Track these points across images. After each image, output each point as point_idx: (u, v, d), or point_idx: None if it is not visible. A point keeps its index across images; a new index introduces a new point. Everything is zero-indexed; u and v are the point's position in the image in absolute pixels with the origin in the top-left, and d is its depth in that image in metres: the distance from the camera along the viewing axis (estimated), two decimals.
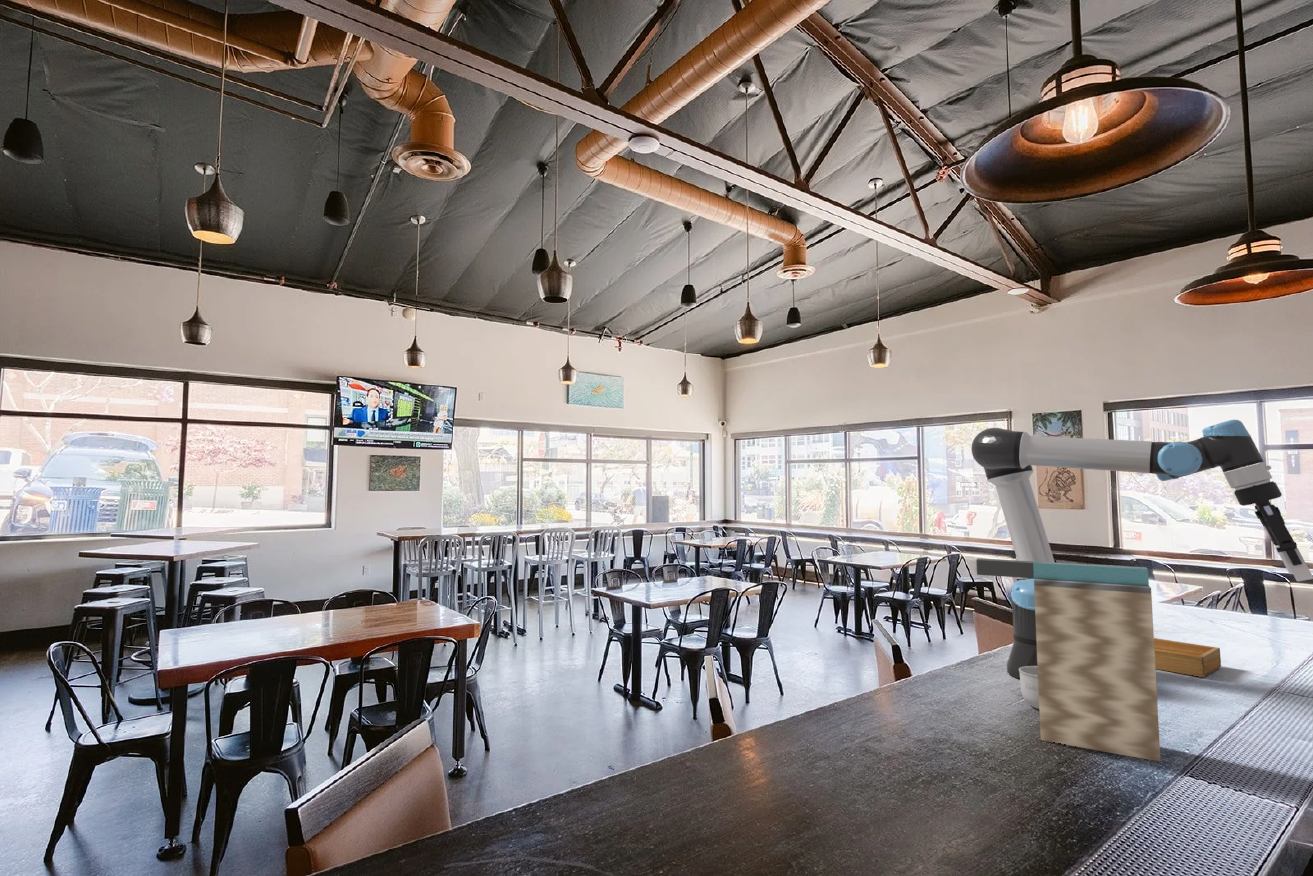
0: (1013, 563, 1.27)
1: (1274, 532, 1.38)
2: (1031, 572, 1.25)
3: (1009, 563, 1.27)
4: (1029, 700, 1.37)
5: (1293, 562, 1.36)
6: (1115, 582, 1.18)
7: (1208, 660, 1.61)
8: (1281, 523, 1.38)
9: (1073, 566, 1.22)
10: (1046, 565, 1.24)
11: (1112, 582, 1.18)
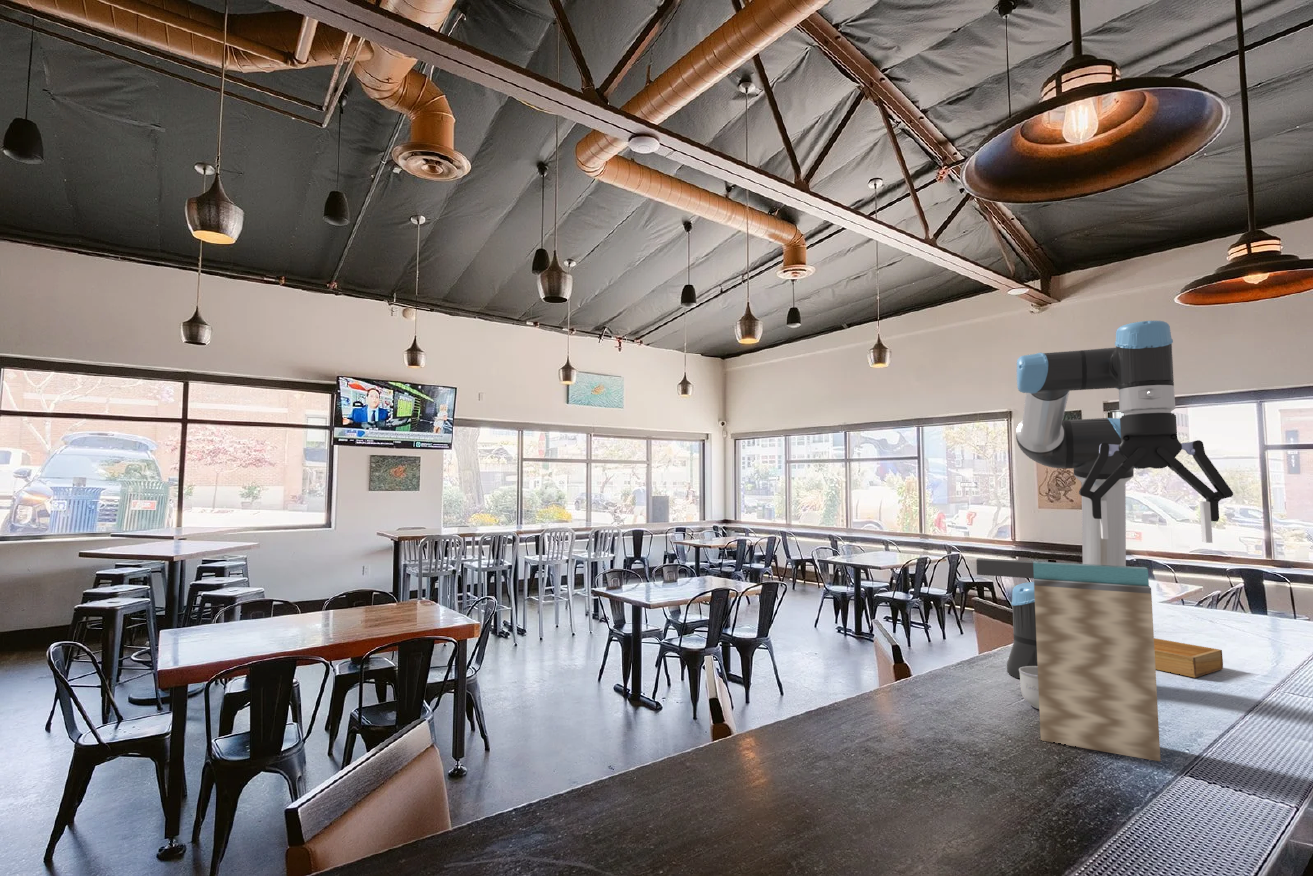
0: (1013, 563, 1.27)
1: (1087, 475, 1.12)
2: (1031, 572, 1.25)
3: (1009, 563, 1.27)
4: (1029, 700, 1.37)
5: (1092, 514, 1.11)
6: (1115, 582, 1.18)
7: (1203, 661, 1.60)
8: (1093, 467, 1.10)
9: (1073, 566, 1.22)
10: (1046, 565, 1.24)
11: (1112, 582, 1.18)
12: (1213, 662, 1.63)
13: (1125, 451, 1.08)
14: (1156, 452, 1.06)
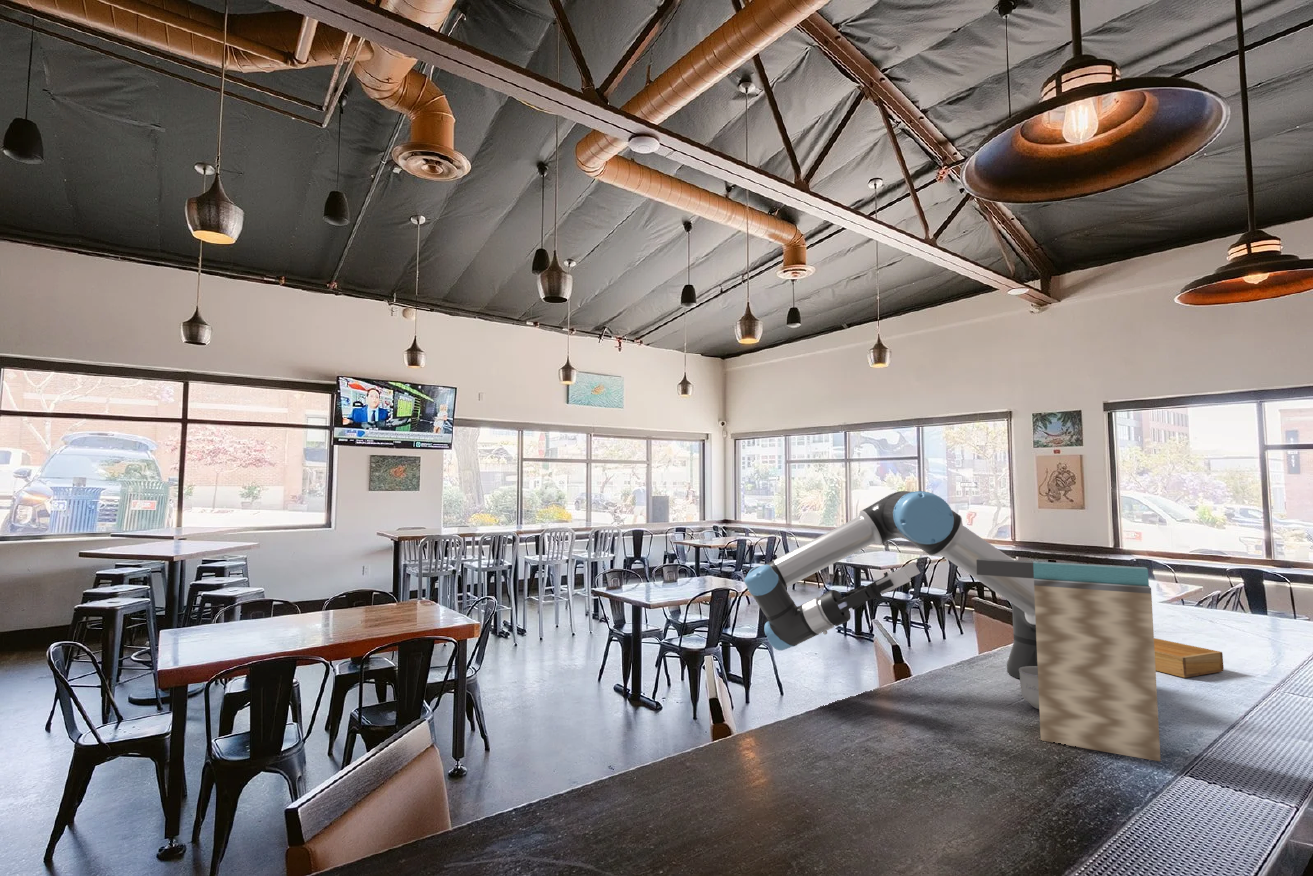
0: (1013, 563, 1.27)
1: None
2: (1031, 572, 1.25)
3: (1009, 563, 1.27)
4: (1029, 700, 1.37)
5: None
6: (1115, 582, 1.18)
7: (1196, 662, 1.60)
8: None
9: (1073, 566, 1.22)
10: (1046, 565, 1.24)
11: (1112, 582, 1.18)
12: (1210, 664, 1.61)
13: None
14: None
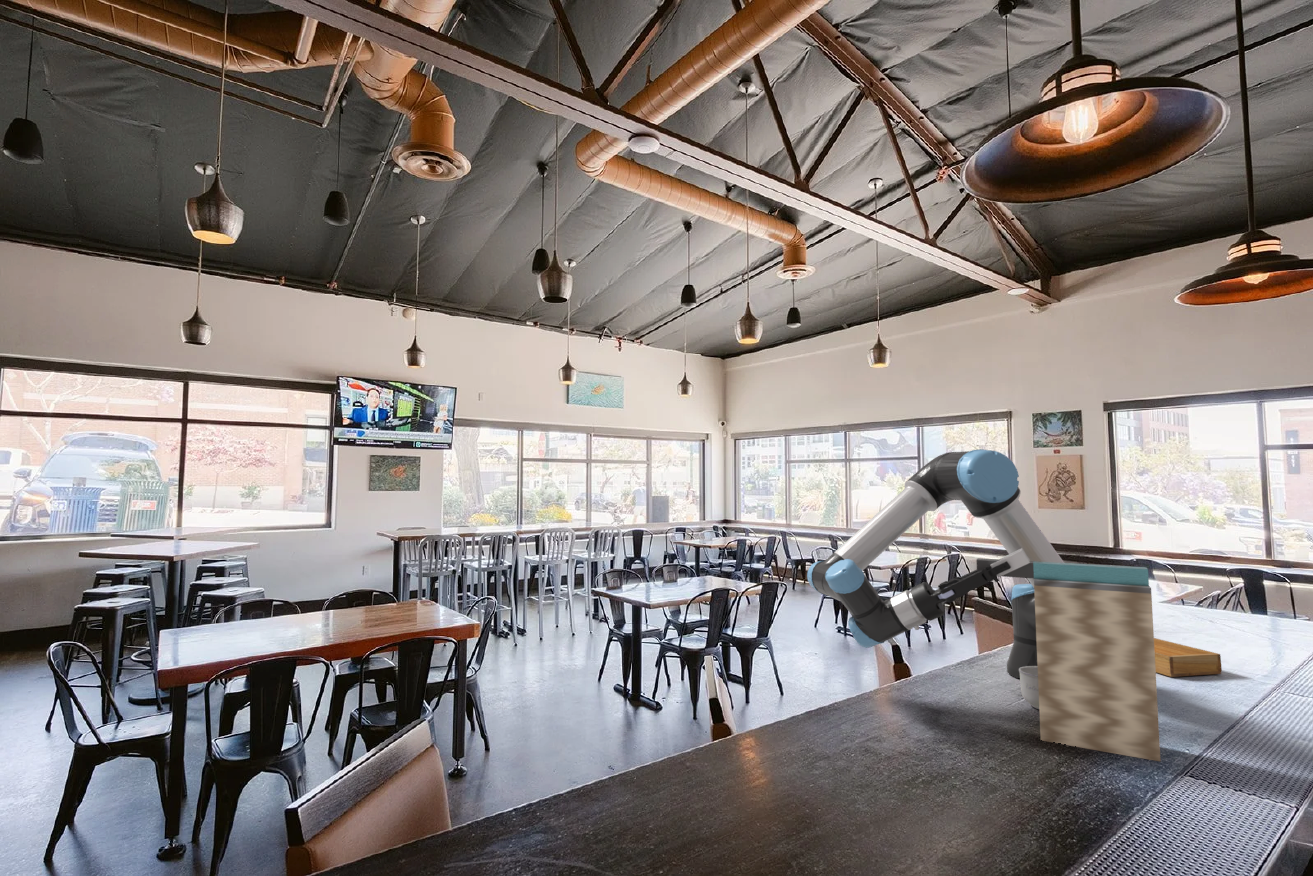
0: None
1: None
2: (1031, 572, 1.25)
3: None
4: (1029, 700, 1.37)
5: None
6: (1115, 582, 1.18)
7: (1186, 662, 1.59)
8: None
9: (1073, 566, 1.22)
10: (1046, 565, 1.24)
11: (1112, 582, 1.18)
12: (1204, 665, 1.60)
13: None
14: None
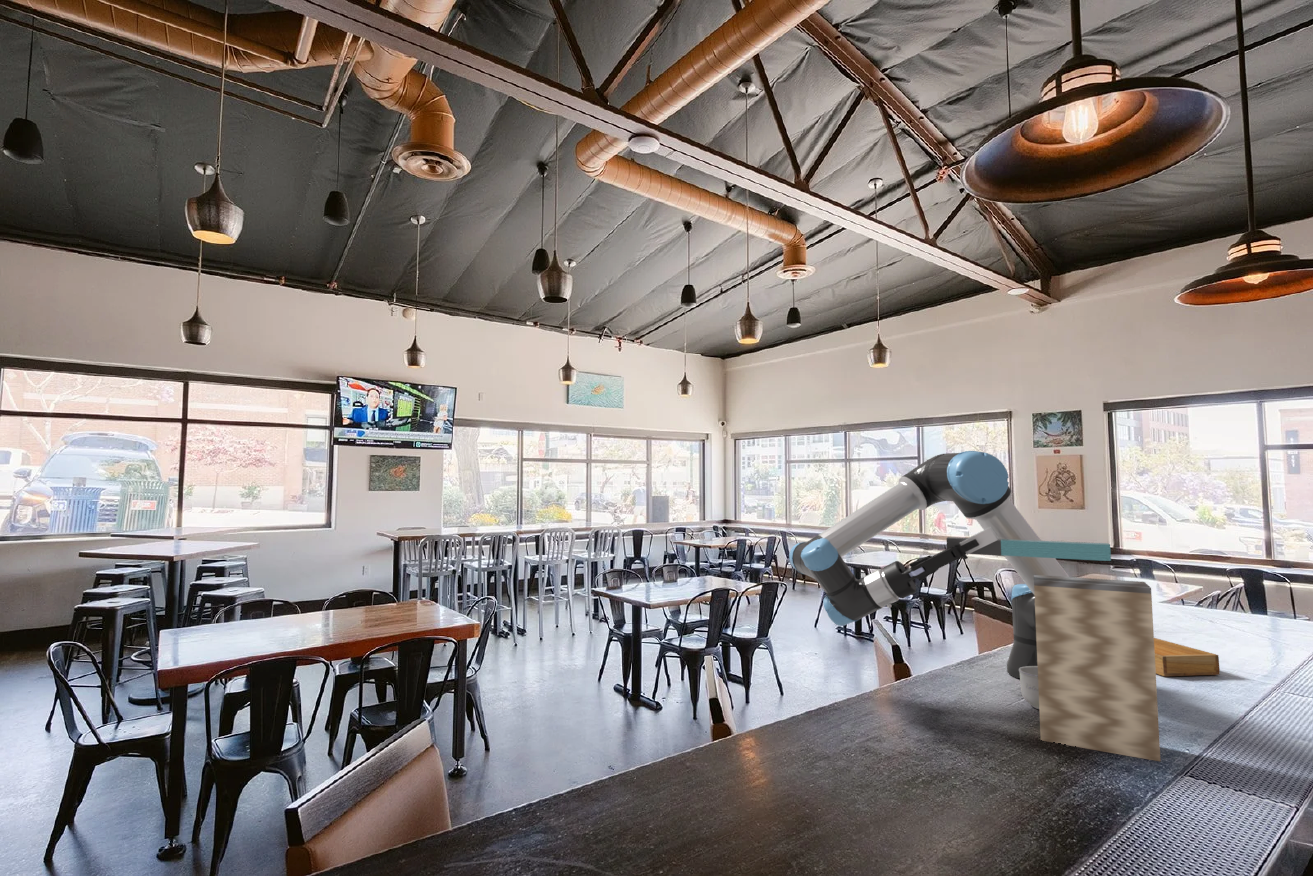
0: None
1: None
2: (998, 549, 1.28)
3: None
4: (1029, 700, 1.37)
5: None
6: (1079, 558, 1.21)
7: (1181, 662, 1.59)
8: None
9: (1039, 543, 1.25)
10: (1013, 542, 1.27)
11: (1076, 558, 1.21)
12: (1200, 665, 1.60)
13: None
14: None
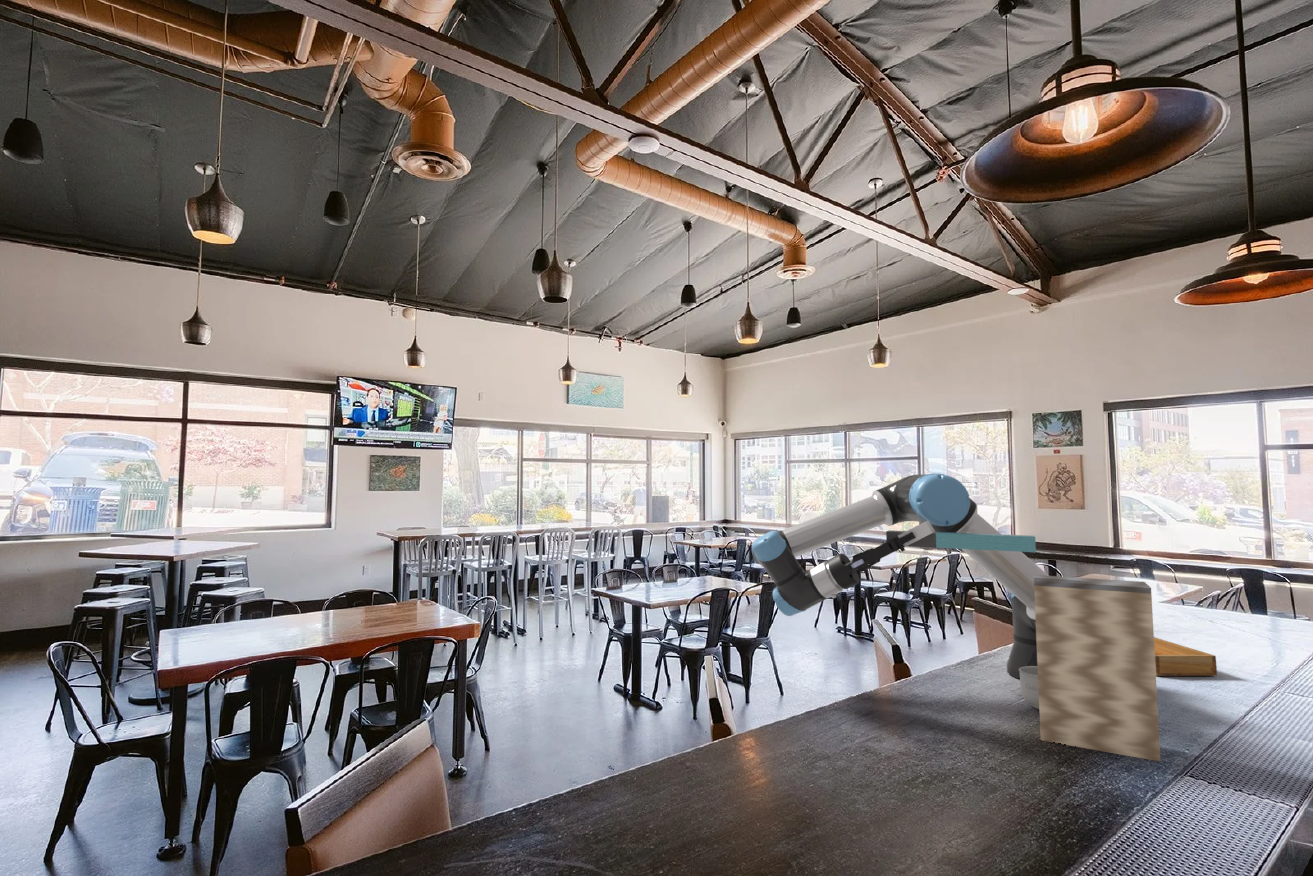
0: None
1: None
2: (933, 542, 1.34)
3: None
4: (1029, 700, 1.37)
5: None
6: (1007, 549, 1.27)
7: (1175, 662, 1.60)
8: None
9: (970, 535, 1.31)
10: (947, 535, 1.33)
11: (1004, 549, 1.27)
12: (1196, 666, 1.59)
13: None
14: None
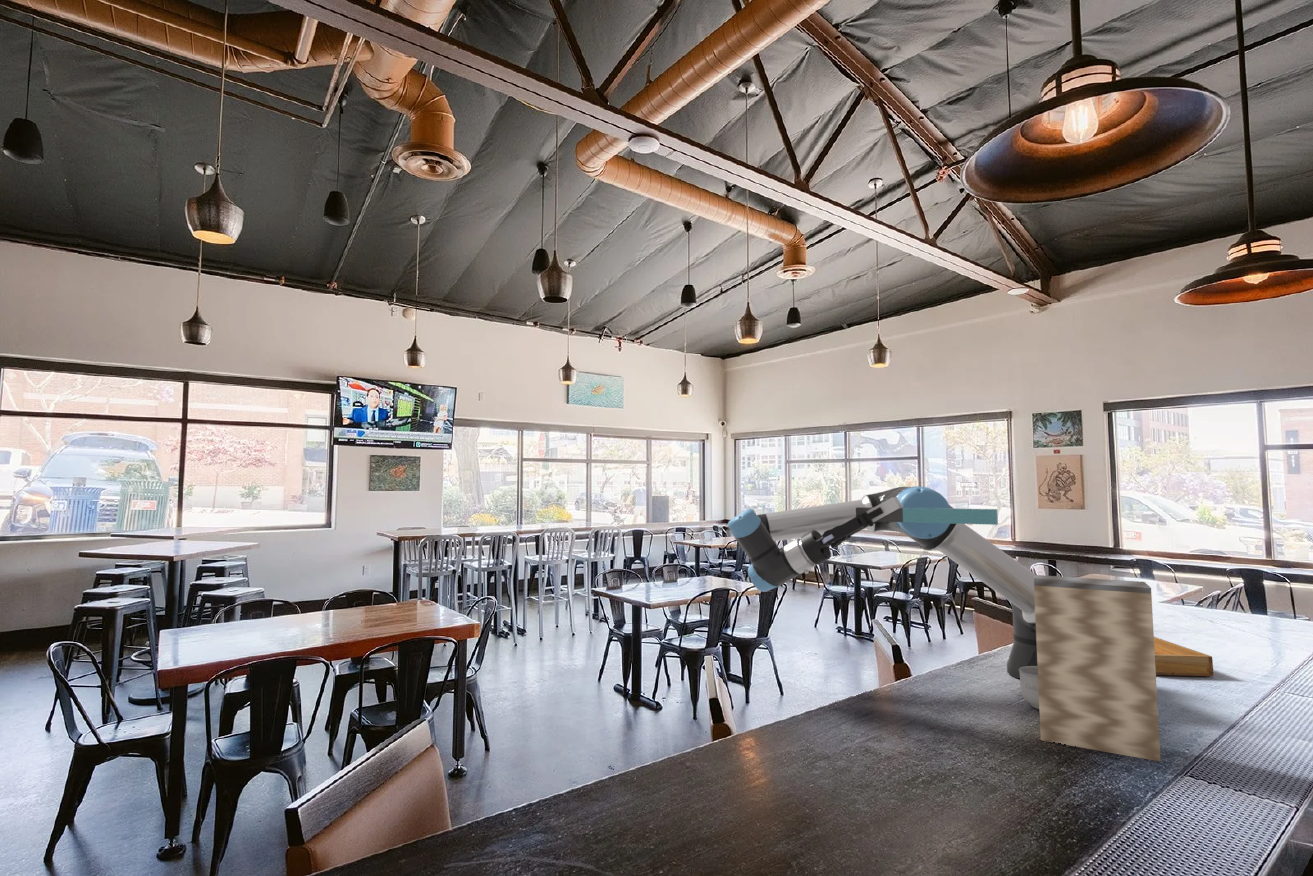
0: None
1: None
2: (900, 517, 1.38)
3: None
4: (1029, 700, 1.37)
5: None
6: (970, 522, 1.31)
7: (1168, 661, 1.60)
8: None
9: (935, 509, 1.35)
10: (913, 510, 1.37)
11: (967, 522, 1.31)
12: (1191, 666, 1.59)
13: None
14: None
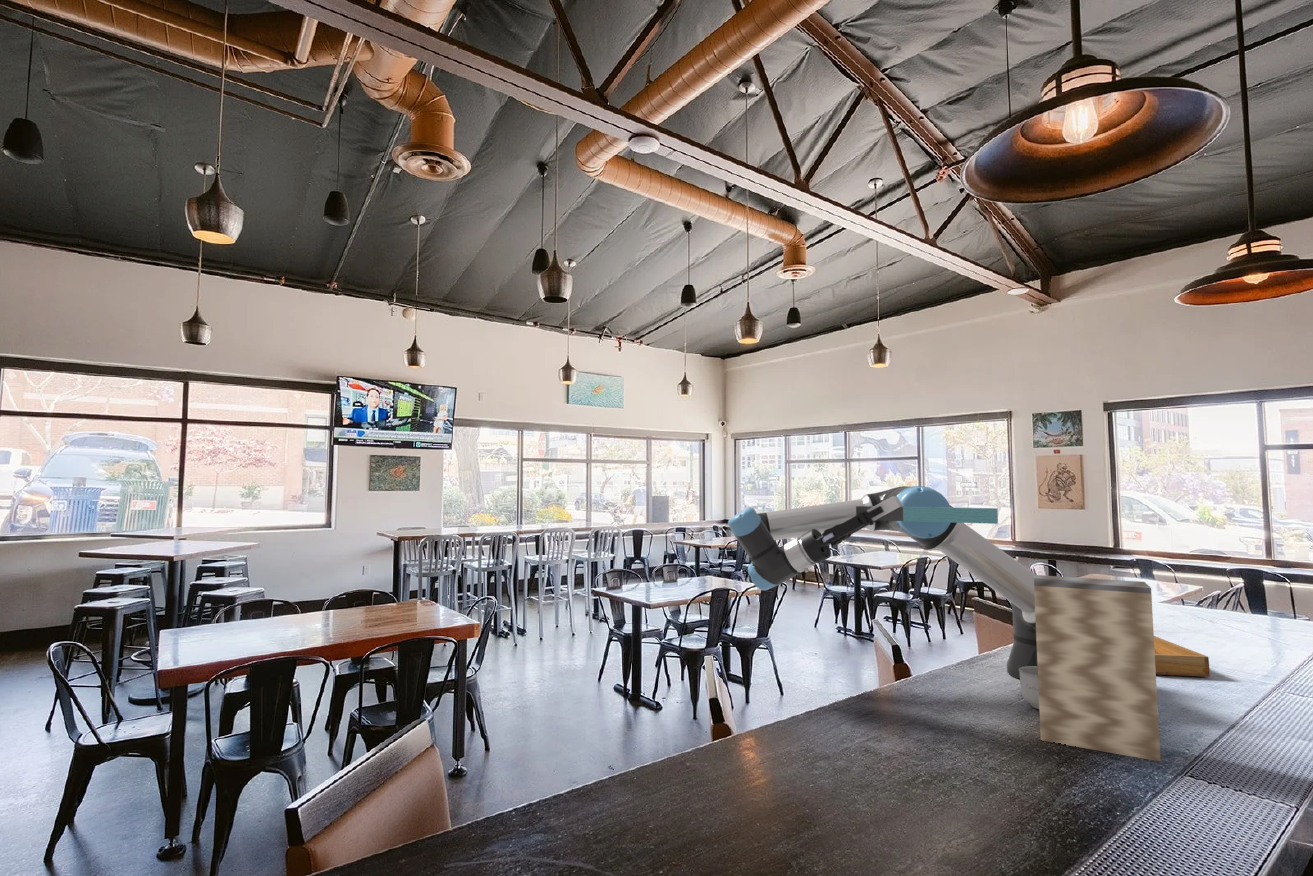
0: None
1: None
2: (901, 515, 1.38)
3: None
4: (1029, 700, 1.37)
5: None
6: (970, 521, 1.31)
7: (1162, 661, 1.60)
8: None
9: (936, 508, 1.35)
10: (913, 508, 1.37)
11: (967, 521, 1.31)
12: (1186, 666, 1.59)
13: None
14: None
